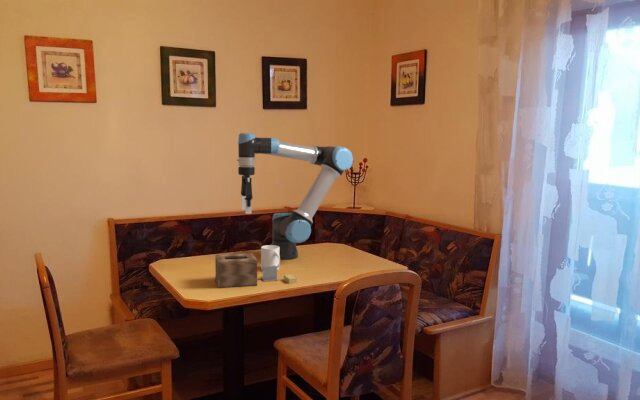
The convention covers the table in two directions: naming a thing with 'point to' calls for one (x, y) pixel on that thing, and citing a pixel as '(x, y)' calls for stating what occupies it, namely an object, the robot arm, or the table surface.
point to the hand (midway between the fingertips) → (246, 211)
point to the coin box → (236, 270)
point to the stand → (269, 273)
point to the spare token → (290, 279)
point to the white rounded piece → (270, 256)
